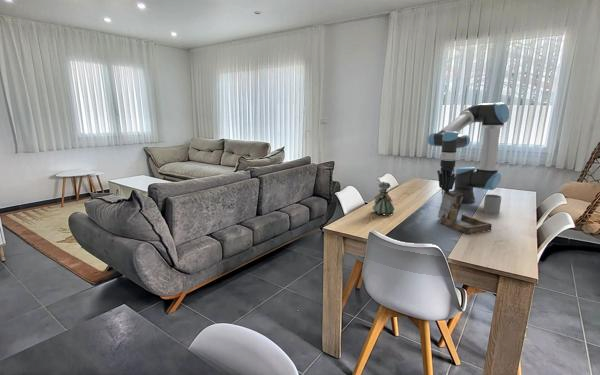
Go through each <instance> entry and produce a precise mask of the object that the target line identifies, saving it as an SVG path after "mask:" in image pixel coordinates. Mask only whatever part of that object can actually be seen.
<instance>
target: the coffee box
mask: <svg viewBox="0 0 600 375" xmlns="http://www.w3.org/2000/svg"><path fill="white" fill-rule="evenodd" d="M453 190H454V189H453ZM453 190H449V192H444V196H443V199H442V198H441V203H440V206H439V210H438V213H437V217H436V218H438V219H440V220H441V217H444V218H447V219H449V220H457V219H458V216H459V213H460V209H461V207H462V204H463V203H462V201H463V198H464V194H462V193H460V192H458V191H456V190H454V191H453Z"/></svg>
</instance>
